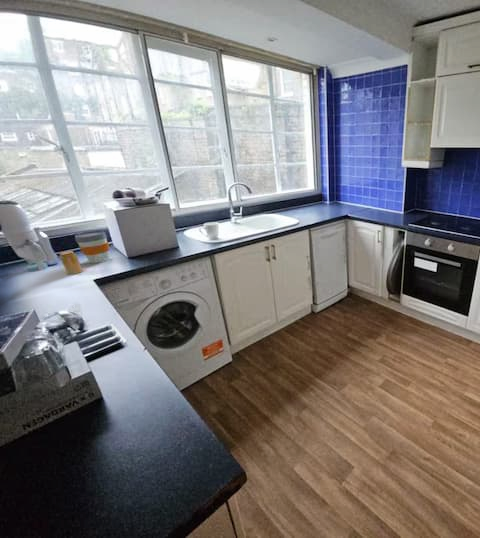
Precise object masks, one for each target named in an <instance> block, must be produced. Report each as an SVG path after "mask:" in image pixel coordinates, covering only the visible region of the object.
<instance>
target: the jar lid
mask: <svg viewBox="0 0 480 538" xmlns="http://www.w3.org/2000/svg"><path fill="white" fill-rule="evenodd" d="M36 266H37V265H36V264H34V265H30V264H29V265H28V266H27V267H26V270H27V271H28V272H30V273H35V272H40V271H41V270H38V268H37V267H36ZM43 266H44V268H45V269H44V270H47V269H48V267H49V265H47V264H46V263H43Z"/></svg>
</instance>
